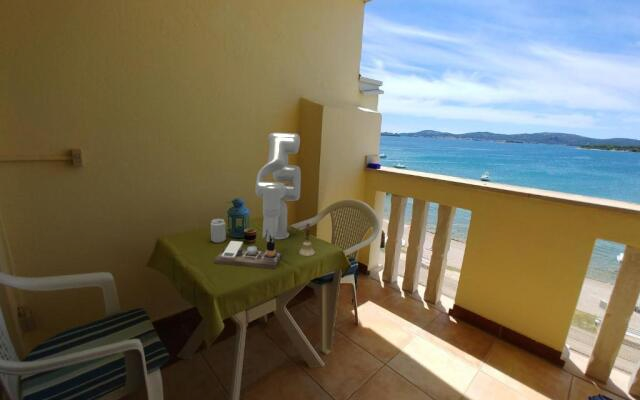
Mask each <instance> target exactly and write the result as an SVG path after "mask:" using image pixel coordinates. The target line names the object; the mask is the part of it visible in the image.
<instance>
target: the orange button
mask: <svg viewBox="0 0 640 400" xmlns="http://www.w3.org/2000/svg"><path fill="white" fill-rule="evenodd" d="M265 251H266V256H269V257H272V256H275V254H276V252H277V251H276V248H275V249H274V251H268V250H267V248H266V249H265Z"/></svg>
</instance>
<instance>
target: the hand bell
mask: <svg viewBox="0 0 640 400" xmlns="http://www.w3.org/2000/svg"><path fill="white" fill-rule="evenodd" d="M304 232H305V233H304V234H305V241H304V242H302V247H301V248H300V249H299V251H298V253H299V255H300V256H303V257H311V256H314V255H315V254H316V251H315V250H314V249H313V245H312V242H311V241H310V234H311V225H310V223H309V222H307V223H306V226H305V230H304Z"/></svg>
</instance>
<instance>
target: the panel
mask: <svg viewBox="0 0 640 400" xmlns="http://www.w3.org/2000/svg"><path fill="white" fill-rule="evenodd" d="M226 248H227V246H225V247H224V248H222V251H221V252H220V253H219V254H218V255H217V256H216V257H215V258H213V263H214V264H217V265H218V264H219V265H220V264H221V265H229V266H239V267H241V266H242V267H250V268H251V267H252V268H259V269H260V268H261V269H271V270H275V269H276V266H277V265H278V263H279V261H280V259H281V258H282V252H278V251H276V254H275V256H272V257H269V256H266V250H257V253H256V254H254V255H249V254H247V248H246V249H243V248H242V247H241V248H240V249H239V250H238V254H237V256H236V257H235V259H229V258H222V254H223V253H224V251H225V250H226Z"/></svg>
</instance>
